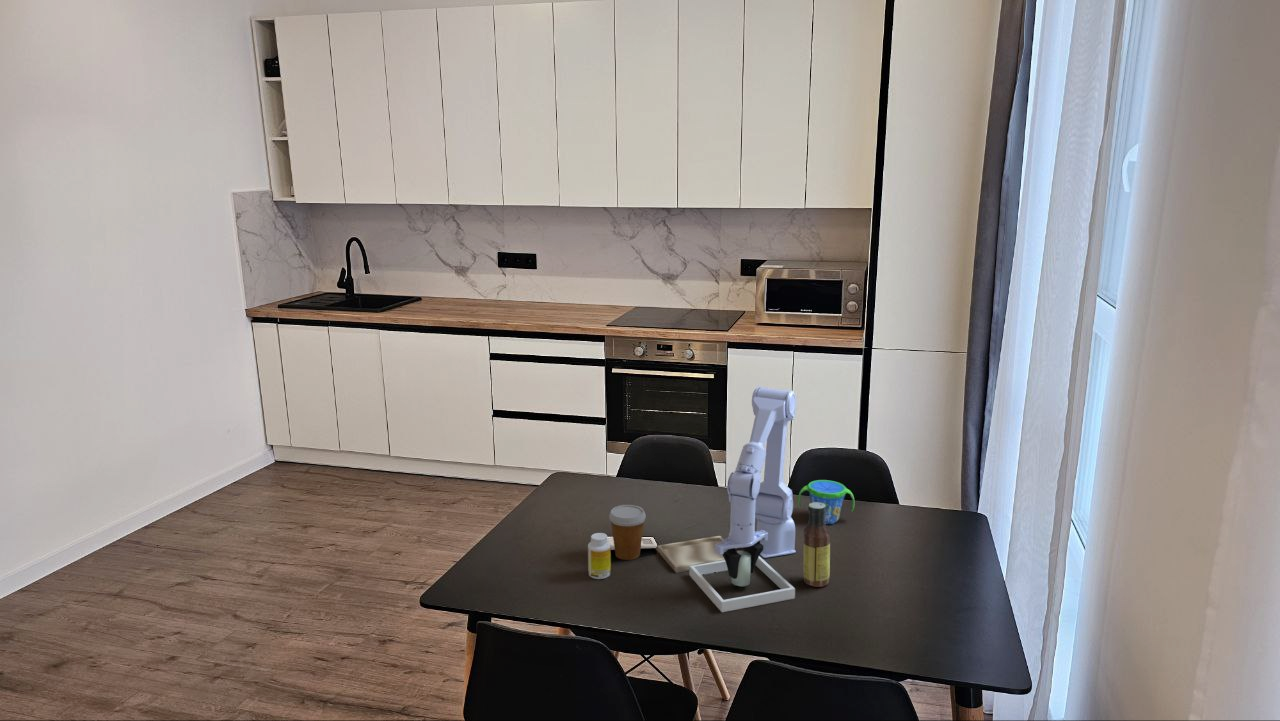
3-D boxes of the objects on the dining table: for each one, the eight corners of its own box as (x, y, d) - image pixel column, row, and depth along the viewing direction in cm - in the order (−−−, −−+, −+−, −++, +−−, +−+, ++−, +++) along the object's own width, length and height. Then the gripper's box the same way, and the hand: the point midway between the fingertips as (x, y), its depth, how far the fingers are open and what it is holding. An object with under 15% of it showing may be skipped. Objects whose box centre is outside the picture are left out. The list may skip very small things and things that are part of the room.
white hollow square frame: (757, 563, 210) (757, 554, 209) (794, 598, 193) (795, 588, 192) (689, 575, 204) (689, 565, 203) (721, 612, 187) (722, 602, 186)
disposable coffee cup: (642, 564, 209) (642, 520, 207) (605, 561, 211) (604, 517, 208) (649, 548, 218) (649, 505, 216) (613, 545, 220) (613, 502, 217)
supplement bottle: (614, 576, 203) (614, 538, 201) (594, 582, 200) (593, 543, 198) (604, 567, 208) (604, 529, 206) (584, 572, 205) (583, 534, 203)
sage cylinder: (744, 576, 201) (745, 549, 199) (753, 584, 197) (754, 557, 195) (728, 579, 199) (729, 552, 198) (736, 587, 195) (737, 560, 194)
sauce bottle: (830, 578, 202) (834, 501, 198) (827, 590, 197) (831, 511, 192) (803, 574, 204) (807, 498, 200) (799, 585, 199) (803, 508, 194)
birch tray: (719, 540, 223) (720, 535, 222) (741, 561, 211) (741, 556, 210) (657, 550, 217) (657, 545, 217) (675, 573, 205) (676, 567, 205)
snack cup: (853, 515, 239) (856, 482, 237) (852, 530, 229) (855, 496, 227) (798, 509, 243) (800, 477, 241) (795, 524, 233) (797, 490, 231)
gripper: (755, 508, 202) (753, 560, 205) (707, 522, 194) (706, 575, 197) (774, 518, 196) (772, 571, 199) (726, 532, 188) (725, 587, 191)
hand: (741, 574), depth 198 cm, fingers closed on sage cylinder, 4 cm apart
